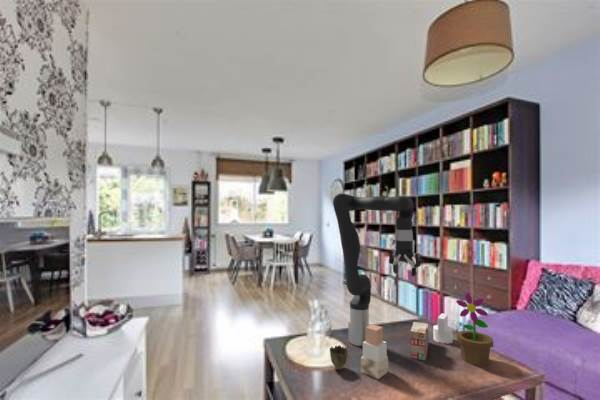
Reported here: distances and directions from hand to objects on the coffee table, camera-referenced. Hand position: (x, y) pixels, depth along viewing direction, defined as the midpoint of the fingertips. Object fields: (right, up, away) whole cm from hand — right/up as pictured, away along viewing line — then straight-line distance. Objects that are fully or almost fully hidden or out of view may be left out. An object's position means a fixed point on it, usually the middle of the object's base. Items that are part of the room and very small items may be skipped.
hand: (404, 274), depth 146 cm
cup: (-32, -36, -15) cm, 50 cm away
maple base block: (-18, -36, -17) cm, 43 cm away
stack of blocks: (+9, -37, +3) cm, 38 cm away
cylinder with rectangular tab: (+24, -37, +14) cm, 46 cm away
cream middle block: (-18, -30, -17) cm, 38 cm away
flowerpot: (+28, -36, -7) cm, 47 cm away
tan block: (-18, -24, -17) cm, 34 cm away
